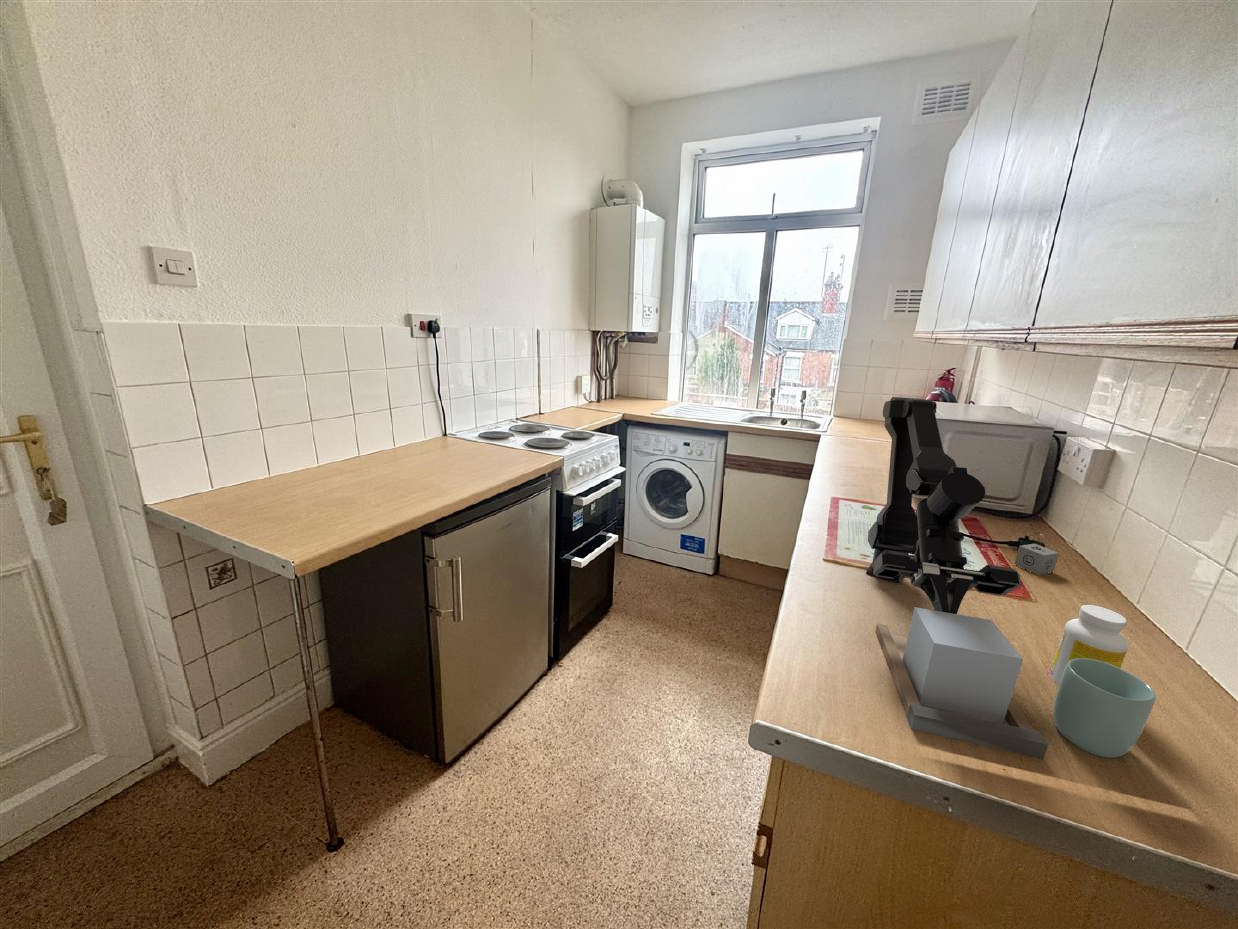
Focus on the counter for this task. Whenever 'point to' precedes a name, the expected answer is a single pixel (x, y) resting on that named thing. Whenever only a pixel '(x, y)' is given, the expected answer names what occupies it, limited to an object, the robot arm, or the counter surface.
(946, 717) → the chute
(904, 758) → the counter surface
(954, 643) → the block
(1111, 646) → the supplement bottle
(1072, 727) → the cup
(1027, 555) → the dice cube
